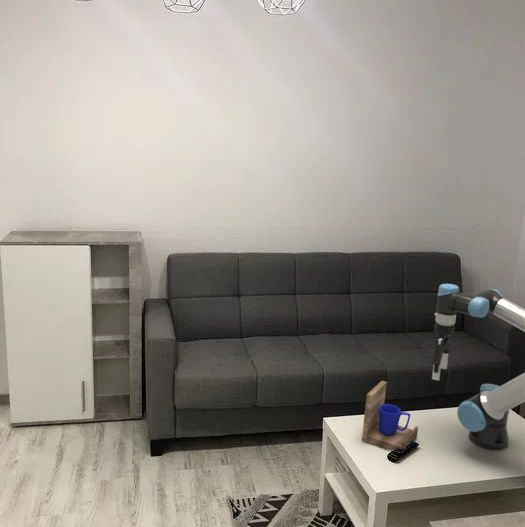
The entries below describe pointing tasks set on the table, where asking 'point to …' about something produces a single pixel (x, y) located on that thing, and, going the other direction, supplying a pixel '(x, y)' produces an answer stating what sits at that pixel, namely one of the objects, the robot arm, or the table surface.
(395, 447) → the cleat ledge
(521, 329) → the robot arm
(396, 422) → the mug
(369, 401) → the wall board
